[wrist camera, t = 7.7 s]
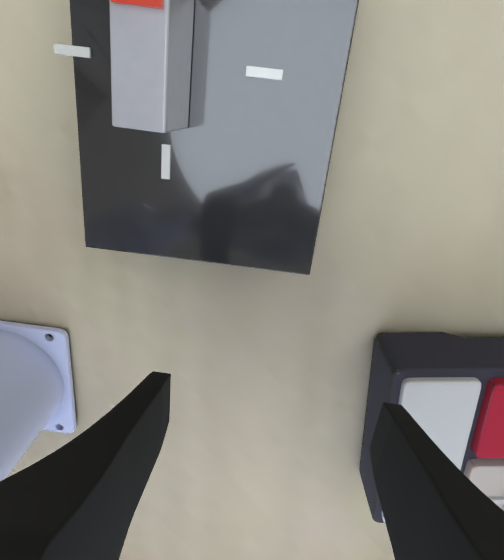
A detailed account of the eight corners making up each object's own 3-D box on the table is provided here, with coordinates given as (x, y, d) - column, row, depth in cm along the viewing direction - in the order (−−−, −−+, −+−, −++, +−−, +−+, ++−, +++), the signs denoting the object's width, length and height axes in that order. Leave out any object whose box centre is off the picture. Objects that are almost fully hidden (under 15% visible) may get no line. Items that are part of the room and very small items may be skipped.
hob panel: (98, 227, 21) (69, 246, 18) (84, -64, 16) (41, -101, 13) (306, 253, 21) (309, 276, 18) (355, -34, 16) (371, -66, 13)
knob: (188, 129, 16) (163, 134, 13) (144, 123, 16) (108, 126, 13) (195, -8, 14) (168, -44, 11) (145, -14, 14) (103, -52, 11)
